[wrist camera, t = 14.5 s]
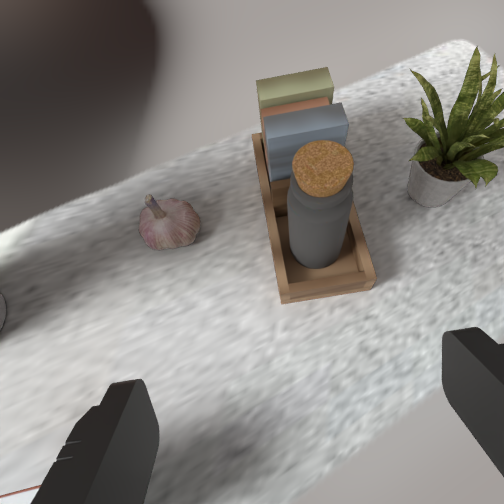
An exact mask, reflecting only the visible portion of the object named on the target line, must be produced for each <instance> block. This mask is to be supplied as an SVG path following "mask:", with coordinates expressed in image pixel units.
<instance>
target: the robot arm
mask: <svg viewBox="0 0 504 504" xmlns="http://www.w3.org/2000/svg"><path fill="white" fill-rule="evenodd" d="M5 317H6V304H5V300H4V298H3V296H2V295H1V293H0V330H1V328H2V326H3V324H4V320H5ZM442 385H443V389H444V392H445V395H446V397H447V399H448V401H449V403H450V405H451V406H452V407H453V409H454V410H455V412H456V413H457V414H458V416H459V417H460V418H461V420H462V421H463V422H464V424H465V425H466V427H467V428H468V429H469V431H470V432H471V433H472V435H473V436H474V437H475V439H476V440H477V442H478V443H479V444H480V446H481V447H482V448H483V450H484V451H485V452H486V454H487V455H488V456H489V458H490V459H491V461H492V462H493V463H494V465H495V466H496V467H497V469H498V470H499V471H500V473H501V474H502V475H503V477H504V344H497V343H496V342H495V341H494V340H493V339H492V338H491V337H489V336H488V335H487V334H486V333H485V332H484V331H482V330H481V329H480V328H478V327H471V328H465V329H459V330H452V331H446V332H445V333H444V334H443V337H442ZM158 446H159V425H158V421H157V418H156V415H155V412H154V409H153V406H152V403H151V400H150V397H149V394H148V391H147V388H146V386H145V383H144V381H143V380H142V379H136V380H129V381H123V382H117V383H112V384H111V385H110V386H109V388H108V390H107V392H106V394H105V396H104V397H103V399H102V401H101V403H100V405H98V406H93V407H92V408H91V409H90V410H89V411H88V412H87V413H86V414H85V415H84V416H83V417H82V418H81V419H80V420H79V421H78V422H77V423H76V424H75V426H74V428H73V430H72V431H71V433H70V435H69V437H68V438H67V440H66V445H65V446H63V447H62V449H61V451H60V453H59V454H58V456H57V461H56V462H54V463H53V465H52V467H51V468H50V470H49V472H48V474H47V476H46V477H45V479H44V481H43V483H42V484H41V486H40V488H39V490H38V491H37V493H36V495H35V497H34V499H33V500H32V502H31V504H143V503H144V499H145V495H146V492H147V488H148V484H149V480H150V477H151V473H152V469H153V465H154V462H155V458H156V454H157V451H158Z"/></svg>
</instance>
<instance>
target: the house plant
mask: <svg viewBox="0 0 504 504" xmlns="http://www.w3.org/2000/svg"><path fill="white" fill-rule="evenodd" d="M477 47H478V46H477ZM477 47H476V49H475V51H474V53H473V56H472V58H471V60H470V64H469V67H468V70H467V73H466V76H465V79H464V83H463V86H462V89H461V91H460V93H459V96H458V98H457V100H456V102H455V104H454V106H453V108H452V110H451V113H450V116H449V120H448V125H447V129H446V125H445V121H444V117H443V111H442V106H441V102H440V100H439V97H438V94H437V92H436V90H435V88H434V87H433V86H432V85H431V84H430V83H429V82H428V81H427V80H426V79H425V78H424V77H423V76H422V75H420V74H419V73H417V72H414V71H411V72H412V73H413V74H414V76H415V77H416V78H417V79H418V81H419V82H420V84H421V85H422V87H423V89H424V91H425V93H426V95H427V97H428V99H429V102H430V104H431V107H432V110H433V114H434V118H435V119H434V118H432V117H431V116H430V115H429V112H428V108H427V106H426V104H425V102H424V101H423V99H422V98H421V104H422V108H423V112H422V118H423V122H424V123H423V122H422V121H421V120H418V119H415V118H402V119H405V122H406V124H407V125H408V126H409V127H410V128H411V129H412V130H413V131H414V132H415V133H417V134H418V135H419V136H420V137H421V138H422V140H420V141H419V143H418V144H417V146H416V148H415V152H414V156H413V157H412V158H411V159H410V160H409V161H411V160H413V162H412V166H411V171H410V176H409V181H408V186H407V189H408V193H409V195H410V197H411V198H412V199H413V200H415V201H416V202H417V203H419V204H420V205H422V206H426V207H438V206H441V205H444V204H445V203H446V202H448V201H449V200H450V199H451V198H452V197H453V196H455V195H456V194H457V193H458V192H459V191H460V190H461V189H463V188H464V187H465V186H466V185H467V184H468V183H470V182H472V183H473V184H474V185H475V188H476V187H477V184H478V181H479V179H480V177H482V178H483V179H484V181H485V183H486V185H487V184H488V183H489V182H490V181H491V180H492V179H493V178H494V177H495V176H496V175H497V172H498V167H497V166H496V165H495V164H494V163H492V162H490V161H488V160H485V159H484V156H483V155H484V154H487V153H489V152H491V151H494V150H497V149H500V148H504V128H502V127H504V119H502V120H500V121H499V118H495V117H496V116H497V115H498V114H499V113H500V112H501V111H502V110H503V109H504V92H503V93H502V94H501V95H500V96H499V97H498V98H497V99H496V100H495V98H496V97H497V96H498V95H499V94H500V93H501V90H502V89H503V88H502V89H500V90H498V91H496V92H494V93H493V91H494V88H495V85H496V77H497V68H498V67H499V66H497V61H496V57H495V55H494V57H493V62H492V67H491V71H490V72H489V73H487V74H485V75H483V76H482V77H481V71H480V53H479V51H478V48H477ZM409 69H410V68H409ZM489 75H490V78H489V81H488V84H487V86H486V88H485V90H484V92H483V94H482V82H481V81H483V80H484V79H485V78H487V77H488V76H489ZM478 90H479V94H478V98H477V102H476V105H475V106H474V108H473V110H472V113H471V115H470V116H469V114H470V112H471V109H472V107H473V104H474V101H475V99H476V96H477V93H478ZM481 95H482V96H481ZM494 100H495V101H494ZM493 101H494V102H493ZM468 116H469V118H468ZM494 118H495V119H494ZM493 121H494V124H493V125H491V126H490V127H488V128H486V127H487V126H489V125H490V124H491V123H492V122H493ZM432 124H433V125H432ZM433 126H434V127H435V128H436V129H437V130H438V131H439V132H437V133H435V130H434V127H433ZM485 128H486V129H485ZM500 128H502V129H500ZM484 129H485V130H484ZM488 142H489V143H488ZM485 143H486V144H485ZM482 144H483V145H482ZM486 185H485V187H486Z"/></svg>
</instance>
